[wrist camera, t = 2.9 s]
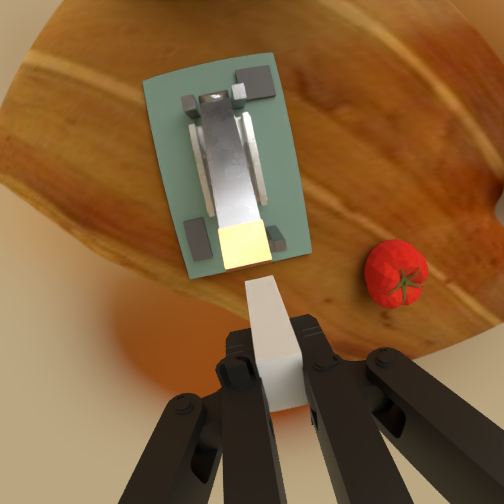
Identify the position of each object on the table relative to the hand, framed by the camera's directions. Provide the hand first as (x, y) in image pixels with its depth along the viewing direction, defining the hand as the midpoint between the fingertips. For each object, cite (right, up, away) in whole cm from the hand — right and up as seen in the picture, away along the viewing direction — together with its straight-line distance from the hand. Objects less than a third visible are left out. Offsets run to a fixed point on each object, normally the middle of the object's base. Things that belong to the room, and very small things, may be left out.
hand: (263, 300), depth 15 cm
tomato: (+19, +1, +24) cm, 30 cm away
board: (-3, +13, +18) cm, 22 cm away
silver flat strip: (-3, +10, +8) cm, 13 cm away
